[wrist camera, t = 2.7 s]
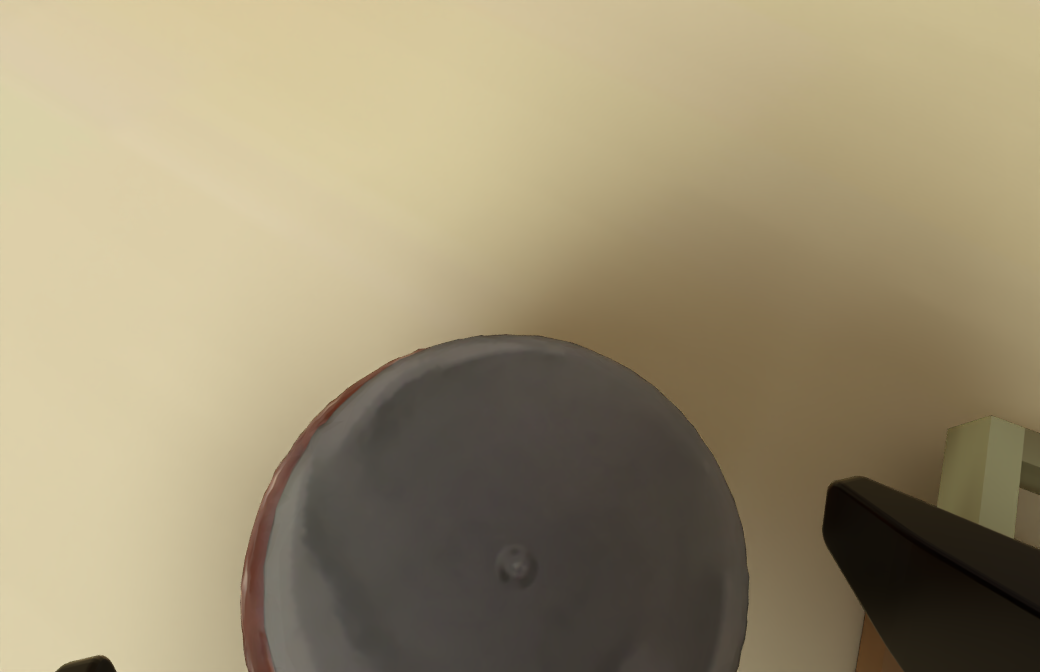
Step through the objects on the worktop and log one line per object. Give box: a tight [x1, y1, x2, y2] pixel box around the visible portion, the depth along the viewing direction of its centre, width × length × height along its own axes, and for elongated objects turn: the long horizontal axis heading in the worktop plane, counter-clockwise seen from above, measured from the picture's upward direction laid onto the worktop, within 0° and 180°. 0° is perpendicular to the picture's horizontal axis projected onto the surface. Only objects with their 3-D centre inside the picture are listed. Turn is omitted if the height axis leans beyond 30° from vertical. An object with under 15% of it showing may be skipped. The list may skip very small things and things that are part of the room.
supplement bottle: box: [240, 334, 749, 672], centre depth 11 cm, size 6×6×11 cm
